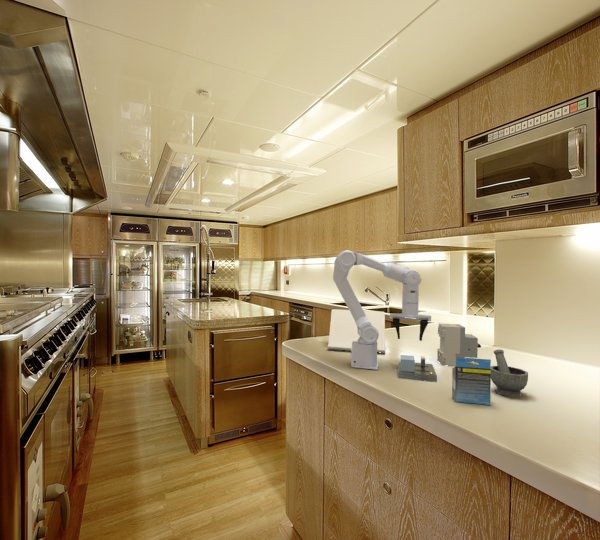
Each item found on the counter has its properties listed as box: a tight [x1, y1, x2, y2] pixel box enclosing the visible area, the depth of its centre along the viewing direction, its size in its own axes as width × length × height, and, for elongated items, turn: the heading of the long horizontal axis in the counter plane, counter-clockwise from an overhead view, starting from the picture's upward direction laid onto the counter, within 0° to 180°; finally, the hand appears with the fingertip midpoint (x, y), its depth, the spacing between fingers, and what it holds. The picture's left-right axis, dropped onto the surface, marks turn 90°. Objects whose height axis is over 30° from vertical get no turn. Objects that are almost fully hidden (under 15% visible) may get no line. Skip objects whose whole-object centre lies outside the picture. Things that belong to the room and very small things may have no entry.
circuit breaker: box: [436, 322, 482, 367], centre depth 127 cm, size 8×14×15 cm, turn 78°
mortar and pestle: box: [490, 349, 529, 399], centre depth 97 cm, size 11×9×12 cm
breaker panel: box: [397, 360, 438, 383], centre depth 113 cm, size 12×14×2 cm
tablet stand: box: [326, 308, 386, 354], centre depth 149 cm, size 18×25×17 cm
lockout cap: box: [400, 354, 416, 372], centre depth 111 cm, size 4×6×4 cm
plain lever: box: [420, 355, 426, 366], centre depth 116 cm, size 1×3×3 cm, turn 164°
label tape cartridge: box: [451, 357, 492, 406], centre depth 90 cm, size 9×4×12 cm, turn 77°
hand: (409, 339), depth 121 cm, fingers open, 7 cm apart
